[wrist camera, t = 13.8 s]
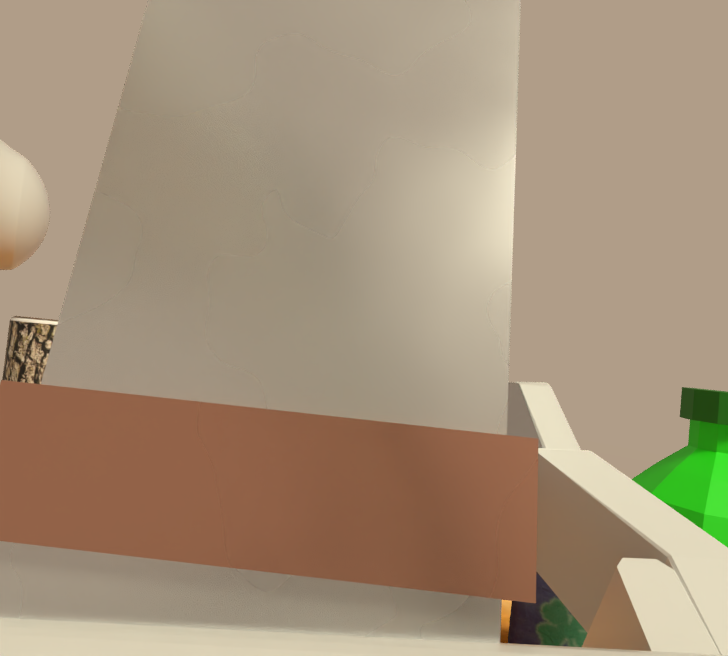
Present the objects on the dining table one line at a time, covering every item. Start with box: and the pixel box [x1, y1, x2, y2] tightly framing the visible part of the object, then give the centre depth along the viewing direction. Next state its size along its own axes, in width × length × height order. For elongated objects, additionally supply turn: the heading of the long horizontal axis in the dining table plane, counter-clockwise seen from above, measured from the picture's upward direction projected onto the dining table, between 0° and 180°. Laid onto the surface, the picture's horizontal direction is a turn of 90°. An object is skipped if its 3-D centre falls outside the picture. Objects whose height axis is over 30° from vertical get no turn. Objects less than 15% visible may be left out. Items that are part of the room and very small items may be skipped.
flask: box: [508, 571, 588, 647], centre depth 43 cm, size 9×3×11 cm, turn 76°
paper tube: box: [2, 316, 58, 384], centre depth 58 cm, size 7×7×25 cm
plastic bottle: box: [631, 387, 728, 547], centre depth 30 cm, size 10×10×25 cm
